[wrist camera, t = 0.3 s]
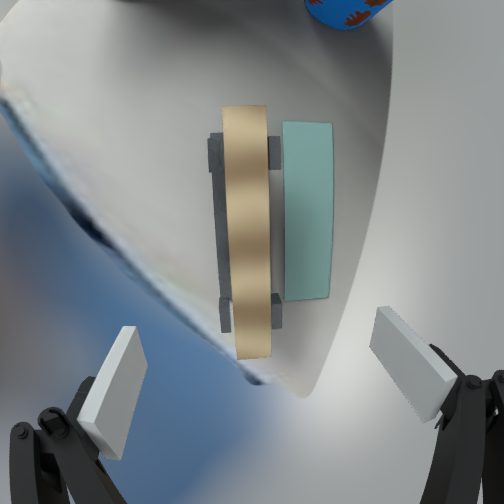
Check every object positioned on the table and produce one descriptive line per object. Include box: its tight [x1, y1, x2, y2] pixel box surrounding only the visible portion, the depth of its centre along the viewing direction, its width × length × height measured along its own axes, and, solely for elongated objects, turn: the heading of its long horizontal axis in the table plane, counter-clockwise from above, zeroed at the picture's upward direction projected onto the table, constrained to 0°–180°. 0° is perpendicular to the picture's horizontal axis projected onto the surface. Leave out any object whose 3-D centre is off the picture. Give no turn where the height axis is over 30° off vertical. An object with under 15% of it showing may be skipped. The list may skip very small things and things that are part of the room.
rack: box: [207, 133, 282, 333], centre depth 31 cm, size 23×7×13 cm, turn 2°
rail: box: [223, 105, 271, 360], centre depth 26 cm, size 24×4×4 cm, turn 2°
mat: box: [282, 121, 333, 301], centre depth 38 cm, size 26×7×1 cm, turn 2°
